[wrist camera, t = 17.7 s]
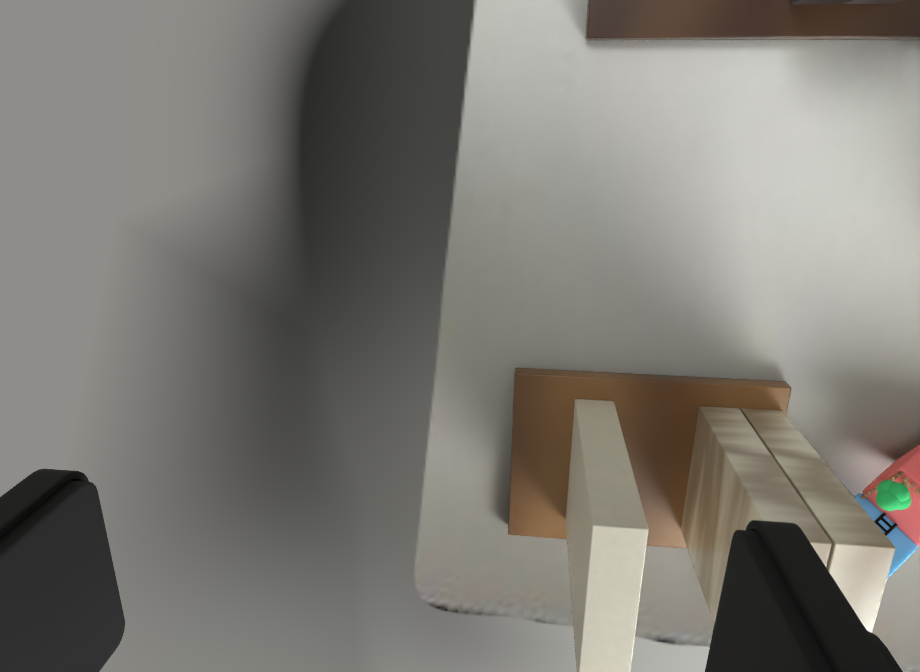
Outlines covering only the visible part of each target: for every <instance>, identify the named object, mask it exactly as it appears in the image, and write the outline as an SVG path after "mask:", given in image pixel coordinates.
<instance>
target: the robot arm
mask: <svg viewBox="0 0 920 672" xmlns="http://www.w3.org/2000/svg"><path fill="white" fill-rule="evenodd" d="M124 627H125V619H124V615H123V610H122V605H121V600H120V596H119V591H118V586H117V581H116V576H115V571H114V567H113V562H112V558H111V552H110V548H109V543H108V538H107V534H106V529H105V524H104V519H103V514H102V510H101V505H100V500H99V496H98V491H97V488H96V486H95V485H94V484H93V483H91V482H89V481H88V478H87V477H86V476H85V474H84V473H81V472H79V471H68V470H54V469H40V470H37V471H35V472H33V473H32V474H31V475H29V476H28V477H27V478H25V479H24V480H23V481H21V482H20V483H18V484H17V485H16V486H14V487H13V488H12V489H10V490H9V491H8V492H7V493H5V494H4V495H3V496H1V497H0V672H99V671H100V670H101V668H102V667H103V666H104V664H105V663H106V662H107V660H108V659H109V658H110V656H111V655H112V654H113V652H114V651H115V650H116V648H117V647H118V645H119V644H120V641H121V639H122V636H123V633H124ZM705 672H903V671H902V670H901V668H900V667H899V665H898V664H897V662H896V661H895V659H894V658H893V656H892V655H891V653H890V652H889V650H888V649H887V647H886V646H885V645H884V644H883V643H882V641H881V640H880V639H879V638H878V637H877V636H876V635H874V634H873V633H871V632H869V631H867V630H866V628H865V627H864V625H863V624H862V622H861V621H860V619H859V617H858V616H857V614H856V613H855V611H854V610H853V608H852V607H851V605H850V604H849V602H848V600H847V599H846V597H845V596H844V594H843V593H842V591H841V590H840V588H839V587H838V585H837V583H836V582H835V580H834V579H833V577H832V576H831V574H830V573H829V571H828V569H827V568H826V566H825V565H824V563H823V562H822V560H821V559H820V557H819V556H818V554H817V552H816V551H815V549H814V548H813V546H812V545H811V543H810V542H809V540H808V539H807V537H806V535H805V534H804V532H803V531H802V529H801V528H800V527H799V526H798V525H797V524H795V523H787V522H773V521H760V520H752V521H750V522H749V523H748V525H747V527H746V530H736V531H735V532H734V534H733V537H732V541H731V546H730V551H729V556H728V560H727V565H726V570H725V575H724V580H723V585H722V590H721V595H720V600H719V605H718V610H717V615H716V620H715V625H714V630H713V635H712V640H711V645H710V650H709V655H708V660H707V665H706V669H705Z"/></svg>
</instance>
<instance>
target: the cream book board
mask: <svg viewBox="0 0 920 672" xmlns="http://www.w3.org/2000/svg"><path fill="white" fill-rule="evenodd" d="M790 392H791V387H790V386H789V385H788V384H787V383H786V382H784V381H764V380H744V379H725V378H705V377H686V376H666V375H646V374H627V373H607V372H587V371H568V370H548V369H528V368H515V381H514V405H513V429H512V454H511V478H510V502H509V527H508V534H509V535H521V536H534V537H546V538H559V539H567V531H566V510H567V497H568V484H569V471H570V458H571V445H572V432H573V418H574V405H575V399H584V400H602V401H614V404H615V408H616V411H617V415H618V419H619V422H620V426H621V430H622V433H623V437H624V441H625V444H626V448H627V452H628V455H629V459H630V463H631V467H632V470H633V474H634V478H635V481H636V485H637V489H638V492H639V496H640V500H641V503H642V507H643V511H644V515H645V518H646V522H647V526H648V529H649V530H648V537H647V545H649V546H662V547H675V548H688V551H689V554H690V556H691V559H692V562H693V565H694V568H695V571H696V574H697V577H698V579H699V582H700V585H701V588H702V591H703V594H704V597H705V599H706V602H707V605H708V608H709V611H710V614H711V617H712V619H713V622H714V625H715V620H716V615H717V610H718V605H719V600H720V595H721V590H722V585H723V580H724V575H725V570H726V565H727V560H728V556H729V551H730V546H731V541H732V537H733V534H734V532H735V531H736V530H746V527H747V525H748V523H749V522H750V521H752V520H760V521H773V522H787V523H795V524H797V525H798V526H799V527H800V528H801V529H802V531H803V532H804V534H805V535H806V537H807V539H808V540H809V542H810V543H811V545H812V546H813V548H814V549H815V551H816V552H817V554H818V556H819V557H820V559H821V560H822V562H823V563H824V565H825V566H826V568H827V569H828V571H829V573H830V574H831V576H832V577H833V579H834V580H835V582H836V583H837V585H838V587H839V588H840V590H841V591H842V593H843V594H844V596H845V597H846V599H847V600H848V602H849V604H850V605H851V607H852V608H853V610H854V611H855V613H856V614H857V616H858V617H859V619H860V621H861V622H862V624H863V625H864V627H865V628H866V630H867V631H869V632H871V633H872V630H873V627H874V623H875V620H876V616H877V613H878V609H879V606H880V602H881V599H882V595H883V592H884V588H885V585H886V581H887V577H888V574H889V570H890V567H891V563H892V560H893V556H894V553H895V549H896V548H895V546H894V545H893V544H892V543H891V541H890V540H889V539H888V538H887V537H886V535H885V534H884V533H883V532H882V530H881V529H880V528H879V527H878V526H877V524H876V523H875V522H874V521H873V520H872V518H871V517H870V516H869V515H868V514H867V512H866V511H865V510H864V509H863V508H862V506H861V505H860V504H859V503H858V502H857V500H856V499H855V498H854V497H853V496H852V494H851V493H850V492H849V491H848V489H847V488H846V487H845V486H844V485H843V483H842V482H841V481H840V480H839V479H838V477H837V476H836V475H835V474H834V473H833V471H832V470H831V469H830V468H829V467H828V465H827V464H826V463H825V462H824V461H823V459H822V458H821V457H820V456H819V455H818V453H817V452H816V451H815V450H814V448H813V447H812V446H811V445H810V444H809V442H808V441H807V440H806V439H805V438H804V436H803V435H802V434H801V433H800V432H799V430H798V429H797V428H796V427H795V426H794V424H793V423H792V422H791V421H790V420H789V418H788V417H787V416H786V412H787V407H788V402H789V397H790Z"/></svg>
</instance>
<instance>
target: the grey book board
mask: <svg viewBox="0 0 920 672" xmlns="http://www.w3.org/2000/svg"><path fill="white" fill-rule="evenodd" d="M585 39H586V40H920V0H588V8H587V22H586V37H585Z"/></svg>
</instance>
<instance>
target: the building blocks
mask: <svg viewBox="0 0 920 672" xmlns="http://www.w3.org/2000/svg"><path fill="white" fill-rule="evenodd" d="M854 498H855V499H856V500H857V502H858V503H859V504H860V505H861V506H862V508H863V509H864V510H865V511H866V512H867V514H868V515H869V516H870V517H871V518H872V520H873V521H874V522H875V523H876V524H877V526H878V527H879V528H880V529H881V530H882V532H883V533H884V534H885V535H886V537H887V538H888V539H889V540H890V541H891V543H892V544H893V545H894V546H895V548H896V549H895V553H894V556H893V560H892V563H891V567H890V570H889V574H888V577H887V579H888V578H889V577H890V576H891V575H892V574H893V573H894V572H895V571H896V570H897V569H898V568H899V567H900V566H901V565H902V564H903V563H904V562H905V561H906V560H907V559H908V558H909V557H910V556H911V555H912V554H913V553H914V552H915V550H916V549H917V545H920V445H918V446H917V447H915V448H913V449H912V450H910V451H909V452H907V453H906V454H904V455H903V456H901V457H900V458H899V459H897V460H896V461H895V462H894V463H893V464H892V465H891V466H890V467H888V468H887V469H886V470H885V471H884V472H883V473H882V474H881V475H880V476H878V477H877V478H876V479H875V480H874V481H873V482H872V483H871V484H870V485H868V486H867V487H866V488H865V489H864V490H863V494H858V495H856V496H854ZM916 544H917V545H916Z"/></svg>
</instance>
